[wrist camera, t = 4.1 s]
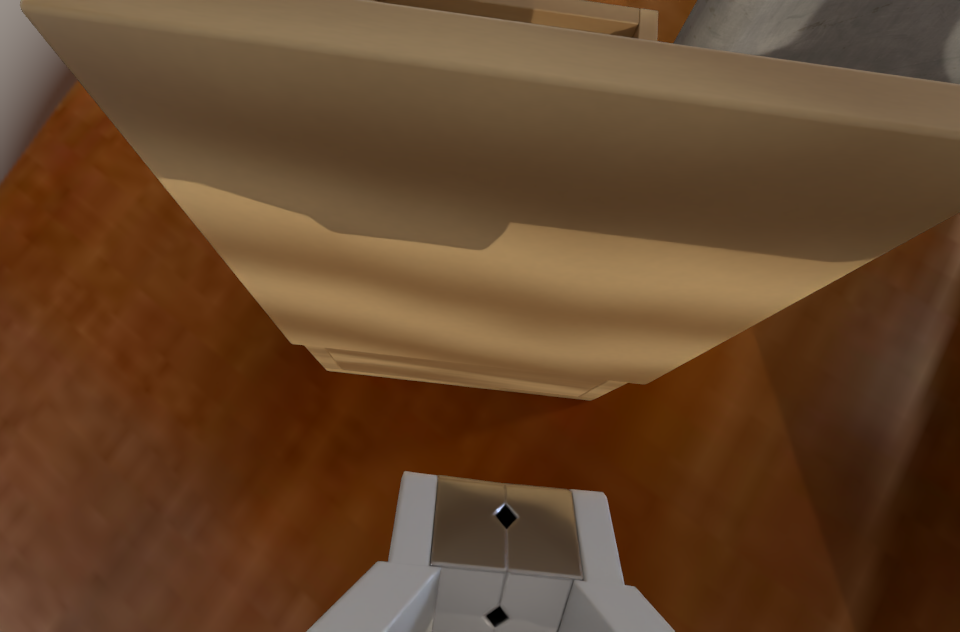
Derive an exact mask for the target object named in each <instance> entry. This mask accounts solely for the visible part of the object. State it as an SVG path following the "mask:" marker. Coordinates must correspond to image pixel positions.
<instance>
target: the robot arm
mask: <svg viewBox="0 0 960 632" xmlns="http://www.w3.org/2000/svg"><path fill="white" fill-rule="evenodd" d="M437 481H438V482H437ZM306 632H675V631H674V629H673V628H672V627H671V626H670V625H669V624H668V623H667V622H666V621H665V619H664V618H663V617H662V616H661V615H660V614H659V613H658V612H657V611H656V609H655V608H654V607H653V606H652V605H651V604H650V603H649V602H648V600H647V599H646V598H645V597H644V596H643V595H642V594H641V593H640V592H639V590H638V589H637V588H636V587H635V586H627V585H625V584H624V579H623V574H622V570H621V565H620V560H619V555H618V550H617V545H616V540H615V535H614V530H613V525H612V520H611V515H610V511H609V506H608V501H607V497H606V496H605V494H604V493H603V492H596V491H585V490H574V489H570V490H568V489H562V488H552V487H542V486H531V485H521V484H510V483H497V482H490V481H482V480H474V479H467V478H459V477H451V476H444V475H439V476H438V479H437V475H430V474H422V473H415V472H408V471H404V473H403V476H402V479H401V485H400V491H399V497H398V503H397V509H396V515H395V522H394V528H393V534H392V540H391V546H390V553H389V559H388V562H383V561H377V562H376V563H375V564H374V565H373V566H372V567H371V568H370V569H369V570H368V571H367V572H366V573H365V574H364V575H363V576H362V577H361V578H360V579H359V580H358V581H357V582H356V583H355V584H354V585H353V586H352V587H351V588H350V589H349V590H348V591H347V592H346V593H345V594H344V595H343V596H342V597H341V598H340V599H339V600H338V601H337V602H336V603H335V604H334V605H333V606H332V607H331V608H330V609H329V610H328V611H327V612H326V613H325V614H324V615H323V616H322V617H321V618H320V619H319V620H318V621H316V622H315V623H314V624H313V625H312V626H311V627H310V628H309V629H308V630H307V631H306Z"/></svg>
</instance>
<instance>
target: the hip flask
mask: <svg viewBox="0 0 960 632" xmlns="http://www.w3.org/2000/svg"><path fill="white" fill-rule="evenodd" d="M673 44H680V45H687V46H694V47H701V48H708V49H715V50H722V51H729V52H736V53H743V54H750V55H757V56H764V57H771V58H778V59H786V60H793V61H800V62H807V63H814V64H821V65H828V66H835V67H842V68H849V69H856V70H863V71H870V72H877V73H884V74H891V75H898V76H906V77H913V78H920V79H927V80H934V81H941V82H948V83H955V84H960V0H697V2H696V4H695V6H694V8H693V9H692V11H691V13H690V15H689V16H688V18H687V20H686V22H685V24H684V25H683V27H682V29H681V31H680V32H679V34H678V36H677V38H676V40H675V41H674V43H673Z"/></svg>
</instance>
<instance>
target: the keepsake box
mask: <svg viewBox="0 0 960 632" xmlns="http://www.w3.org/2000/svg"><path fill="white" fill-rule="evenodd" d="M369 1H376V2H383V3H390V4H397V5H404V6H411V7H418V8H425V9H432V10H440V11H447V12H454V13H461V14H468V15H475V16H482V17H489V18H496V19H503V20H510V21H517V22H524V23H531V24H538V25H545V26H553V27H560V28H567V29H574V30H581V31H588V32H595V33H602V34H609V35H616V36H623V37H630V38H637V39H644V40H651V41H657V30H658V11H655V10H648V9H640V10H639V9H638V8H632V7H625V6H618V5H611V4H604V3H597V2H591V1H584V0H369ZM304 346H305V347H306V348H307V349H308V350H309V351H310V352H311V354H312V355H313V356H314V357H315V358H316V359H317V360H318V361H319V363H320V364H321V365H322V366H323V367H324V368H325V369H326V370H327V371H334V372H343V373H351V374H360V375H369V376H378V377H387V378H396V379H404V380H413V381H422V382H431V383H440V384H448V385H457V386H466V387H475V388H484V389H493V390H501V391H510V392H519V393H528V394H537V395H545V396H554V397H563V398H572V399H581V400H590V401H591V400H593V399H596V398H598V397H600V396H602V395H604V394H606V393H608V392H610V391H612V390H614V389H616V388H618V387H620V386H622V385H624V384H626V383H628V382H619V381H610V380H602V379H593V378H584V377H576V376H567V375H558V374H550V373H541V372H532V371H523V370H515V369H506V368H497V367H489V366H480V365H471V364H463V363H454V362H445V361H437V360H428V359H419V358H411V357H402V356H393V355H384V354H376V353H367V352H358V351H350V350H341V349H332V348H324V347H315V346H306V345H304Z"/></svg>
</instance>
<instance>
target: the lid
mask: <svg viewBox="0 0 960 632" xmlns="http://www.w3.org/2000/svg"><path fill="white" fill-rule="evenodd" d="M20 6H21V10H22V12H23V13H24V14H25V15H26V17H27V18H28V19H29V20H30V21H31V23H32V24H33V25H34V26H35V28H36V29H37V30H38V31H39V33H40V34H41V35H42V36H43V37H44V39H45V40H46V41H47V43H48V44H49V45H50V46H51V47H52V49H53V50H54V51H55V52H56V54H57V55H58V56H59V57H60V59H61V60H62V61H63V62H64V64H65V65H66V66H67V67H68V68H69V70H70V71H71V72H72V73H73V75H74V76H75V77H76V78H77V80H78V81H79V82H80V83H81V85H82V86H83V87H84V88H85V90H86V91H87V92H88V93H89V94H90V96H91V97H92V98H93V99H94V101H95V102H96V103H97V104H98V106H99V107H100V108H101V109H102V111H103V112H104V113H105V114H106V115H107V117H108V118H109V119H110V120H111V122H112V123H113V124H114V125H115V127H116V128H117V129H118V130H119V132H120V133H121V134H122V135H123V136H124V138H125V139H126V140H127V141H128V143H129V144H130V145H131V146H132V148H133V149H134V150H135V151H136V153H137V154H138V155H139V156H140V157H141V159H142V160H143V161H144V162H145V164H146V165H147V166H148V167H149V169H150V170H151V171H152V172H153V174H154V175H155V176H156V177H157V178H158V180H159V181H160V182H161V183H162V185H163V186H164V187H165V188H166V190H167V191H168V192H169V193H170V195H171V196H172V197H173V198H174V200H175V201H176V202H177V203H178V204H179V206H180V207H181V208H182V209H183V211H184V212H185V213H186V214H187V216H188V217H189V218H190V219H191V221H192V222H193V223H194V224H195V225H196V227H197V228H198V229H199V230H200V232H201V233H202V234H203V235H204V237H205V238H206V239H207V240H208V242H209V243H210V244H211V245H212V246H213V248H214V249H215V250H216V251H217V253H218V254H219V255H220V256H221V258H222V259H223V260H224V261H225V263H226V264H227V265H228V266H229V267H230V269H231V270H232V271H233V272H234V274H235V275H236V276H237V277H238V279H239V280H240V281H241V282H242V284H243V285H244V286H245V287H246V289H247V290H248V291H249V292H250V293H251V295H252V296H253V297H254V298H255V300H256V301H257V302H258V303H259V305H260V306H261V307H262V308H263V310H264V311H265V312H266V313H267V314H268V316H269V317H270V318H271V319H272V321H273V322H274V323H275V324H276V326H277V327H278V328H279V329H280V331H281V332H282V333H283V334H284V335H285V337H286V338H287V339H288V340H289V342H290V343H292V344H298V345H306V346H315V347H324V348H332V349H341V350H350V351H358V352H367V353H376V354H384V355H393V356H402V357H411V358H419V359H428V360H437V361H445V362H454V363H463V364H471V365H480V366H489V367H497V368H506V369H515V370H523V371H532V372H541V373H550V374H558V375H567V376H576V377H584V378H593V379H602V380H610V381H619V382H628V383H636V384H647V383H649V382H651V381H653V380H655V379H657V378H658V377H660V376H662V375H664V374H666V373H668V372H669V371H671V370H673V369H675V368H677V367H678V366H680V365H682V364H684V363H686V362H688V361H689V360H691V359H693V358H695V357H697V356H699V355H700V354H702V353H704V352H706V351H708V350H709V349H711V348H713V347H715V346H717V345H719V344H720V343H722V342H724V341H726V340H728V339H730V338H731V337H733V336H735V335H737V334H739V333H740V332H742V331H744V330H746V329H748V328H750V327H751V326H753V325H755V324H757V323H759V322H761V321H762V320H764V319H766V318H768V317H770V316H771V315H773V314H775V313H777V312H779V311H781V310H782V309H784V308H786V307H788V306H790V305H792V304H793V303H795V302H797V301H799V300H801V299H802V298H804V297H806V296H808V295H810V294H812V293H813V292H815V291H817V290H819V289H821V288H823V287H824V286H826V285H828V284H830V283H832V282H833V281H835V280H837V279H839V278H841V277H843V276H844V275H846V274H848V273H850V272H852V271H854V270H855V269H857V268H859V267H861V266H863V265H864V264H866V263H868V262H870V261H872V260H874V259H875V258H877V257H879V256H881V255H883V254H885V253H886V252H888V251H890V250H892V249H894V248H895V247H897V246H899V245H901V244H903V243H905V242H906V241H908V240H910V239H912V238H914V237H916V236H917V235H919V234H921V233H923V232H925V231H926V230H928V229H930V228H932V227H934V226H936V225H937V224H939V223H941V222H943V221H945V220H947V219H948V218H950V217H952V216H954V215H956V214H957V213H959V212H960V84H955V83H948V82H941V81H934V80H927V79H920V78H913V77H906V76H898V75H891V74H884V73H877V72H870V71H863V70H856V69H849V68H842V67H835V66H828V65H821V64H814V63H807V62H800V61H793V60H786V59H778V58H771V57H764V56H757V55H750V54H743V53H736V52H729V51H722V50H715V49H708V48H701V47H694V46H687V45H680V44H673V43H665V42H658V41H651V40H644V39H637V38H630V37H623V36H616V35H609V34H602V33H595V32H588V31H581V30H574V29H567V28H560V27H553V26H545V25H538V24H531V23H524V22H517V21H510V20H503V19H496V18H489V17H482V16H475V15H468V14H461V13H454V12H447V11H440V10H432V9H425V8H418V7H411V6H404V5H397V4H390V3H383V2H376V1H369V0H21V2H20Z"/></svg>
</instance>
